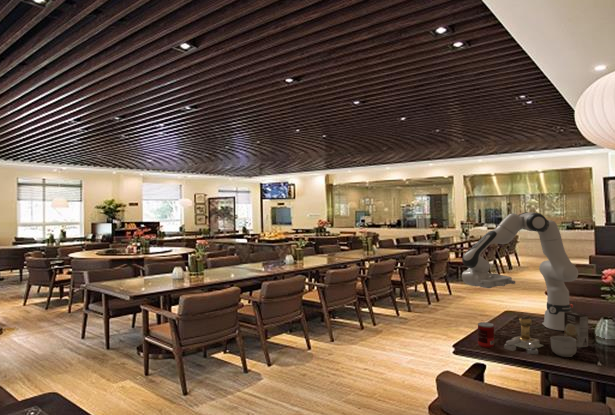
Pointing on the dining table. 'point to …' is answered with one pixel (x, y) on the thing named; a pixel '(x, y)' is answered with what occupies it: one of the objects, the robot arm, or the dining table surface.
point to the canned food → (486, 334)
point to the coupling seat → (520, 344)
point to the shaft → (531, 348)
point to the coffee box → (576, 327)
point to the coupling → (525, 327)
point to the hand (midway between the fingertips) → (509, 283)
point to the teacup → (563, 346)
